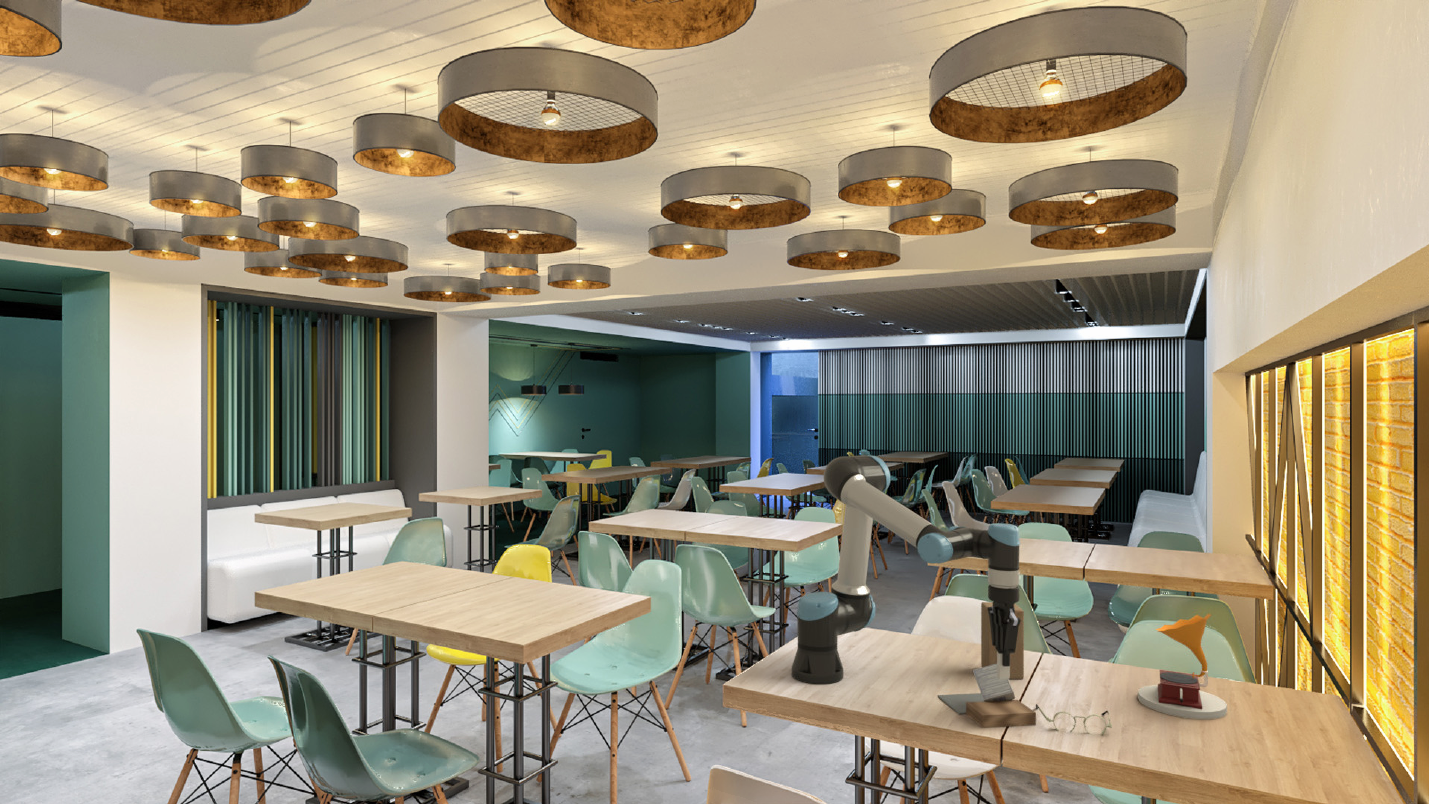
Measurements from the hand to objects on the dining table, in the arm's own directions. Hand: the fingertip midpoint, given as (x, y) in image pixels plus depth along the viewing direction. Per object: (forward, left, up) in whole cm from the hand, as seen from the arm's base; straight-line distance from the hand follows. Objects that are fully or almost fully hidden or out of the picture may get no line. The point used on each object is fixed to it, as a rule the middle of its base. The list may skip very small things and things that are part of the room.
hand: (1003, 677), depth 206 cm
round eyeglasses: (+16, -6, -11) cm, 20 cm away
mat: (-2, +9, -10) cm, 13 cm away
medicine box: (0, +2, -7) cm, 7 cm away
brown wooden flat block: (-2, -2, -10) cm, 10 cm away
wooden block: (+16, +31, -10) cm, 37 cm away
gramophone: (+51, +1, -10) cm, 52 cm away
